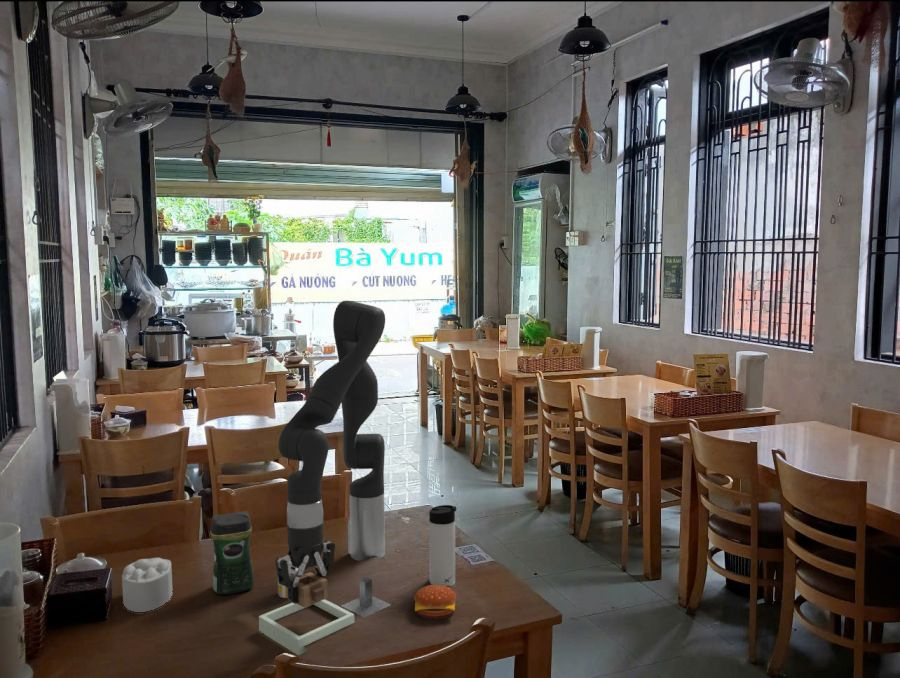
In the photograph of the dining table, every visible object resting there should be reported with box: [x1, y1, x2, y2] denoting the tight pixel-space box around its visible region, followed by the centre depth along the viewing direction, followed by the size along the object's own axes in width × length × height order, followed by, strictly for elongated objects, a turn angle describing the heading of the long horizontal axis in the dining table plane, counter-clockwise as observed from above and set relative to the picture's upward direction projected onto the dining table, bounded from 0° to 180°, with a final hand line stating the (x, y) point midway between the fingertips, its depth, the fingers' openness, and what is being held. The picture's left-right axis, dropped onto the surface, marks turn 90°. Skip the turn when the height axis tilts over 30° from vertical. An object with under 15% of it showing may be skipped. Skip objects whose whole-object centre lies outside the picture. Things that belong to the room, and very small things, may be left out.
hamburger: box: [413, 584, 457, 621], centre depth 160 cm, size 9×10×7 cm
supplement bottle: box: [277, 561, 298, 599], centre depth 168 cm, size 5×5×10 cm
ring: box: [287, 571, 329, 609], centre depth 153 cm, size 7×6×4 cm
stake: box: [340, 576, 392, 618], centre depth 162 cm, size 8×8×8 cm
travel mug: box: [428, 504, 457, 588], centre depth 174 cm, size 6×7×20 cm
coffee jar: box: [209, 510, 255, 595], centre depth 174 cm, size 10×8×19 cm
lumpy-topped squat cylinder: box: [121, 557, 173, 612], centre depth 168 cm, size 10×13×9 cm
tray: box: [258, 599, 356, 656], centre depth 154 cm, size 14×14×3 cm
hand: (307, 596), depth 153 cm, fingers closed on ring, 6 cm apart
